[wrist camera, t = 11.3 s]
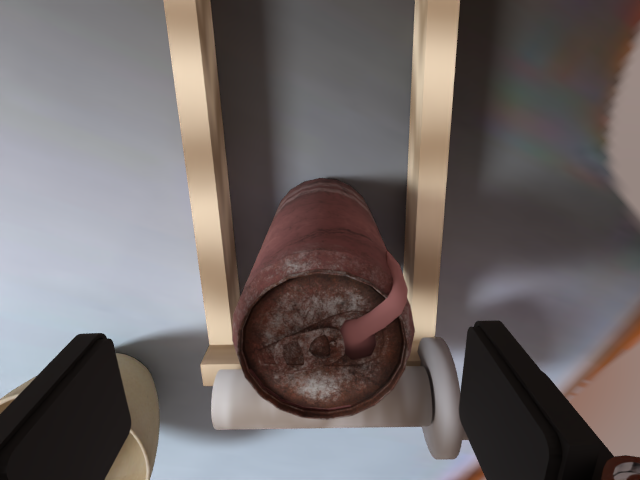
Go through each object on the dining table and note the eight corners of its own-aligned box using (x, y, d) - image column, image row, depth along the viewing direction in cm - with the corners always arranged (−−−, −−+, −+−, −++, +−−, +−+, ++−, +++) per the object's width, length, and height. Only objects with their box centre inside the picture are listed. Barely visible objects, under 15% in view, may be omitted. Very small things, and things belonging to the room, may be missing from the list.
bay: (170, -101, 20) (38, -275, 11) (488, -112, 20) (634, -300, 11) (226, 365, 29) (180, 491, 20) (446, 362, 29) (506, 487, 20)
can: (393, 218, 26) (468, 342, 12) (325, 285, 27) (328, 459, 14) (322, 152, 24) (322, 213, 11) (256, 227, 26) (186, 358, 13)
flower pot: (37, 406, 31) (-44, 492, 24) (71, 300, 28) (-10, 364, 21) (162, 452, 32) (119, 546, 25) (207, 355, 29) (172, 432, 22)
